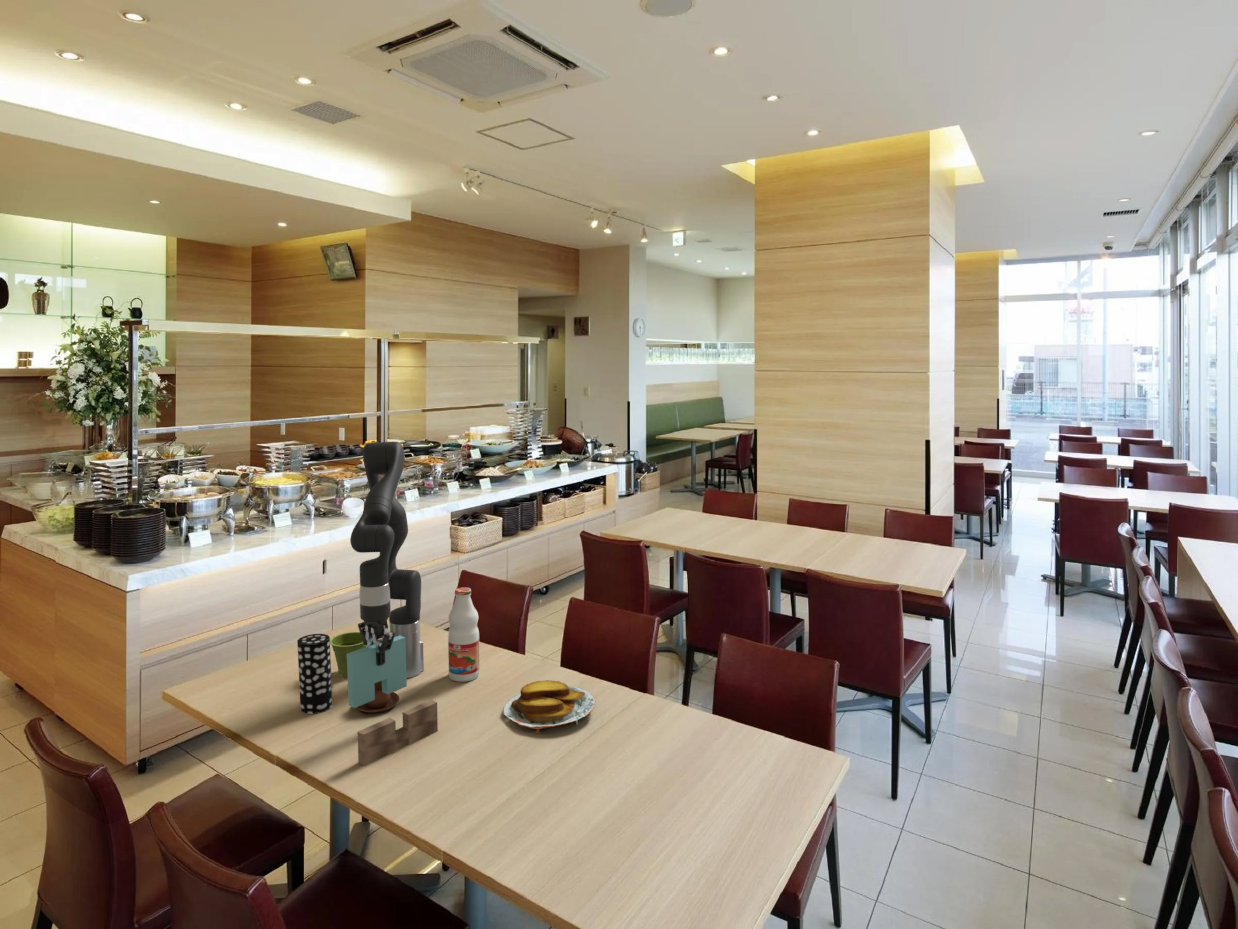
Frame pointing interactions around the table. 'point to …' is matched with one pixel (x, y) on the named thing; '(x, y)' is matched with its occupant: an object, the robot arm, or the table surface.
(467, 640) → the fruit juice
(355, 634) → the plant pot
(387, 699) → the cup and saucer
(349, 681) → the teal plate
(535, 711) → the food on plate
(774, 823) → the table surface
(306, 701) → the spotted tube
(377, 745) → the walnut board
